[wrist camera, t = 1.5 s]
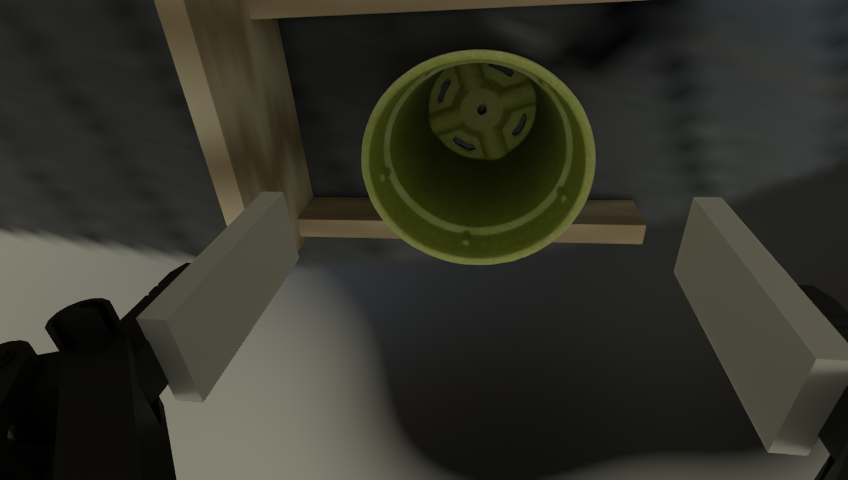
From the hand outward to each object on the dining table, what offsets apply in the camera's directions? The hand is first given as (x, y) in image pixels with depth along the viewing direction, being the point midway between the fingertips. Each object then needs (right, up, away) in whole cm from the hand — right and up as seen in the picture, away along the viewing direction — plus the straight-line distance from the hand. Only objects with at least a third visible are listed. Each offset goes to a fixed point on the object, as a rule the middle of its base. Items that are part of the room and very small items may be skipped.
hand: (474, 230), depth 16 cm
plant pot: (+2, +7, +11) cm, 13 cm away
